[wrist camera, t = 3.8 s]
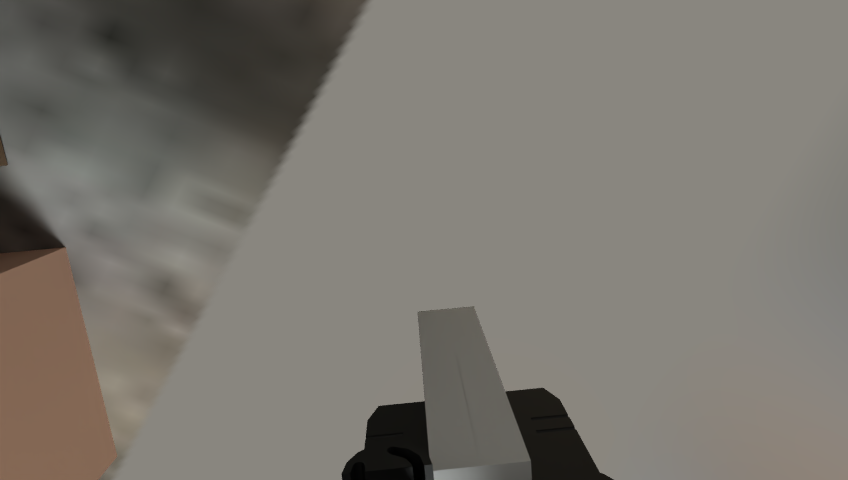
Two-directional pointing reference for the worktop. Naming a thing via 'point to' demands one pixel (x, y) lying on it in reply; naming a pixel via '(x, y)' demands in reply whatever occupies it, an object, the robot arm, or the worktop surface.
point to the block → (47, 375)
